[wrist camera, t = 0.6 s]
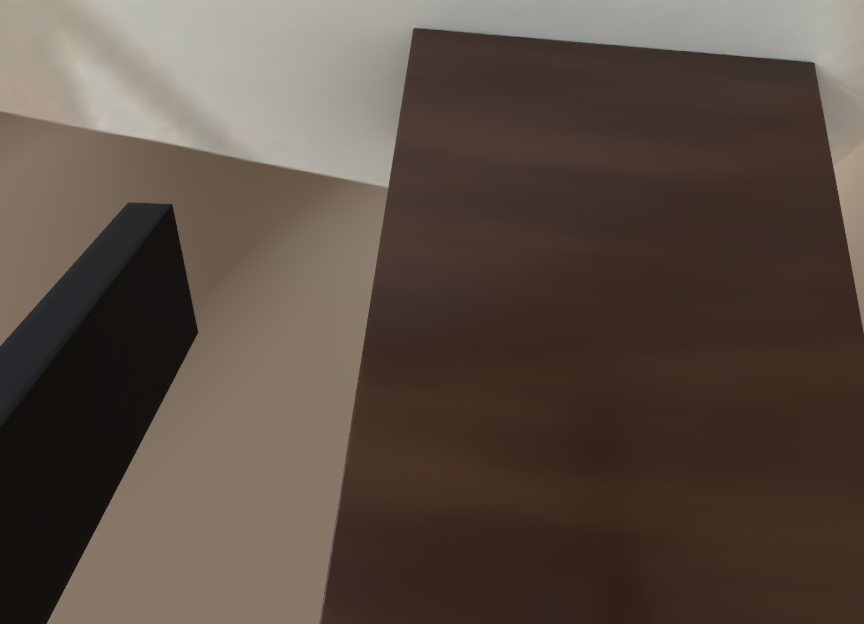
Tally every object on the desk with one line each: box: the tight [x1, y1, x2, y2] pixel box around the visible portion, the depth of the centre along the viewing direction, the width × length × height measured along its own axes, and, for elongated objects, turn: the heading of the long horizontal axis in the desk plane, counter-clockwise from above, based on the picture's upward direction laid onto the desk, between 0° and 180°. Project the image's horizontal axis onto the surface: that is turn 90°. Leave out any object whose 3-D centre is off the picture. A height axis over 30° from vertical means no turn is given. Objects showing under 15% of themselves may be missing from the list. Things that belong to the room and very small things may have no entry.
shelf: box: [320, 29, 864, 624], centre depth 26 cm, size 8×18×33 cm, turn 89°
